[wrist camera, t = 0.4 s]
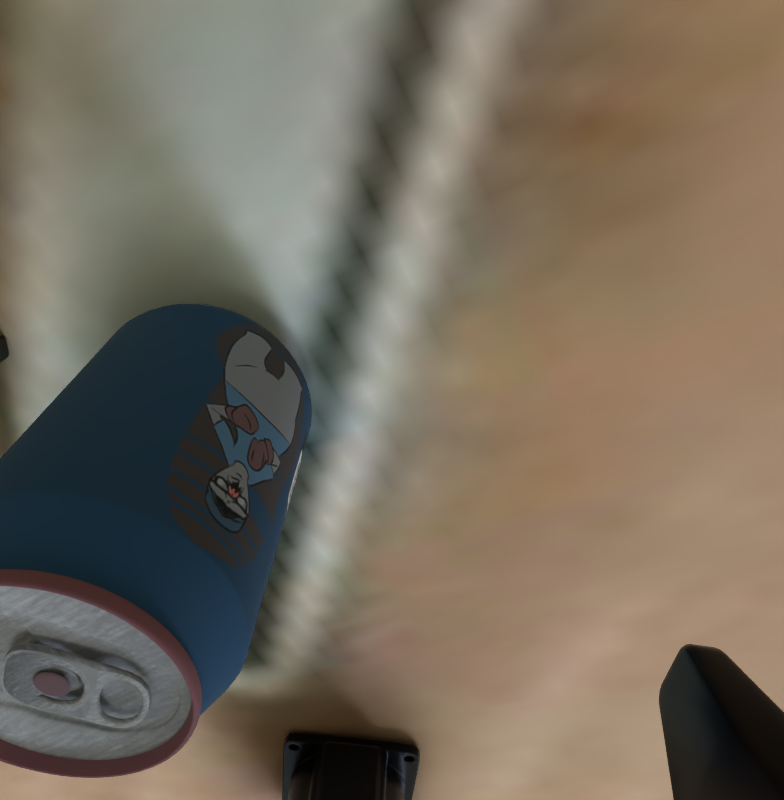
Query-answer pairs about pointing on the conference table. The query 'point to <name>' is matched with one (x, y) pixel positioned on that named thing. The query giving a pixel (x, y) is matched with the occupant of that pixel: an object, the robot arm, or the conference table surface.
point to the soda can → (143, 539)
